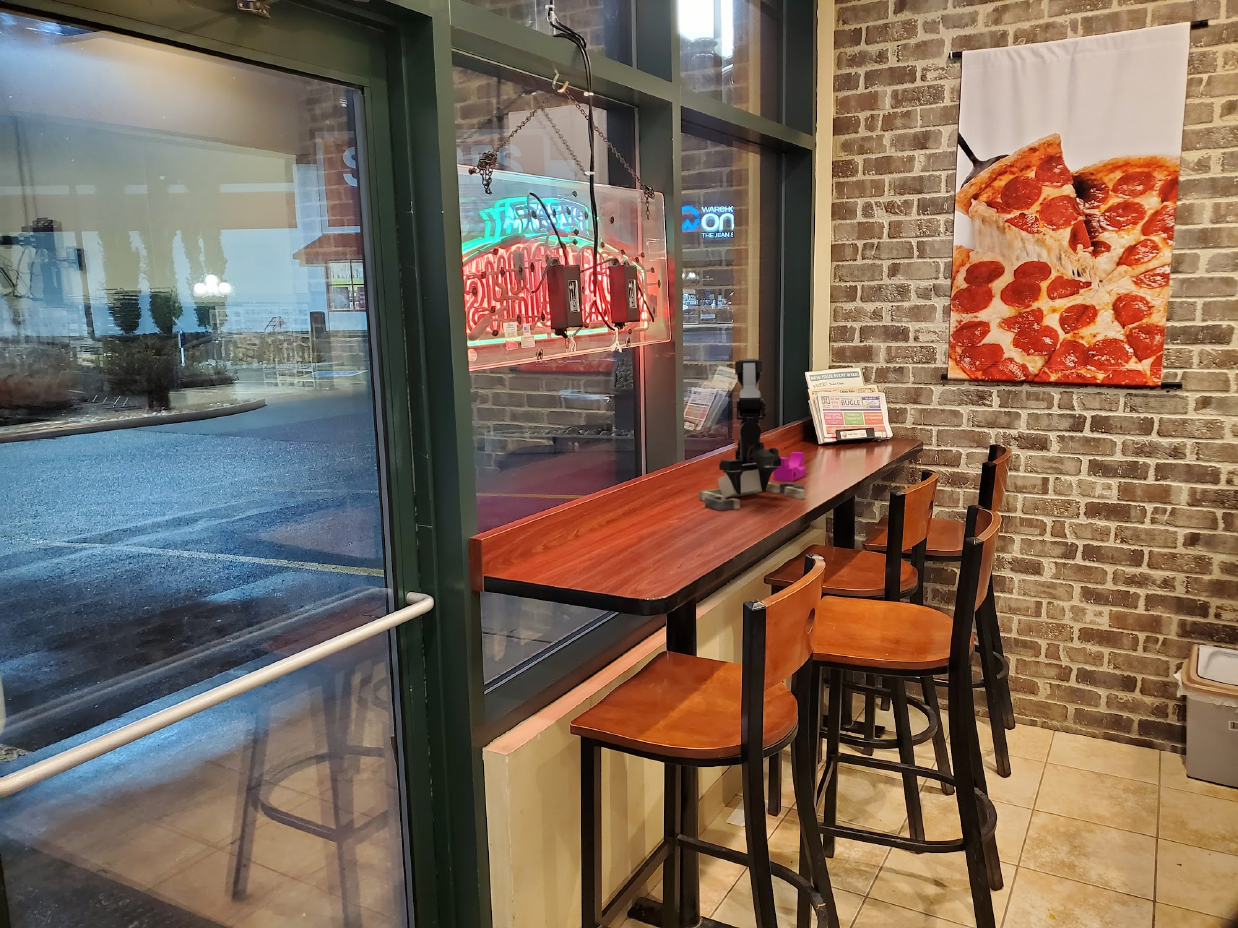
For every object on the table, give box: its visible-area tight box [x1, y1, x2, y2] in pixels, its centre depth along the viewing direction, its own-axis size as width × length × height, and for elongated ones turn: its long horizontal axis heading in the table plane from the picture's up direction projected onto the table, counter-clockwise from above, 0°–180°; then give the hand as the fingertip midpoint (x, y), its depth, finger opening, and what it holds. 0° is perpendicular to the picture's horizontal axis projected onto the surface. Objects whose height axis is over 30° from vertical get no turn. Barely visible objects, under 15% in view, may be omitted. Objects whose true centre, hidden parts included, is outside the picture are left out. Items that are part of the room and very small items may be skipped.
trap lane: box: [698, 481, 806, 511], centre depth 270 cm, size 17×34×2 cm, turn 121°
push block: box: [717, 469, 767, 499], centre depth 273 cm, size 6×12×6 cm, turn 121°
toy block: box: [773, 451, 806, 482], centre depth 303 cm, size 15×6×8 cm, turn 145°
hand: (751, 492), depth 269 cm, fingers open, 9 cm apart
